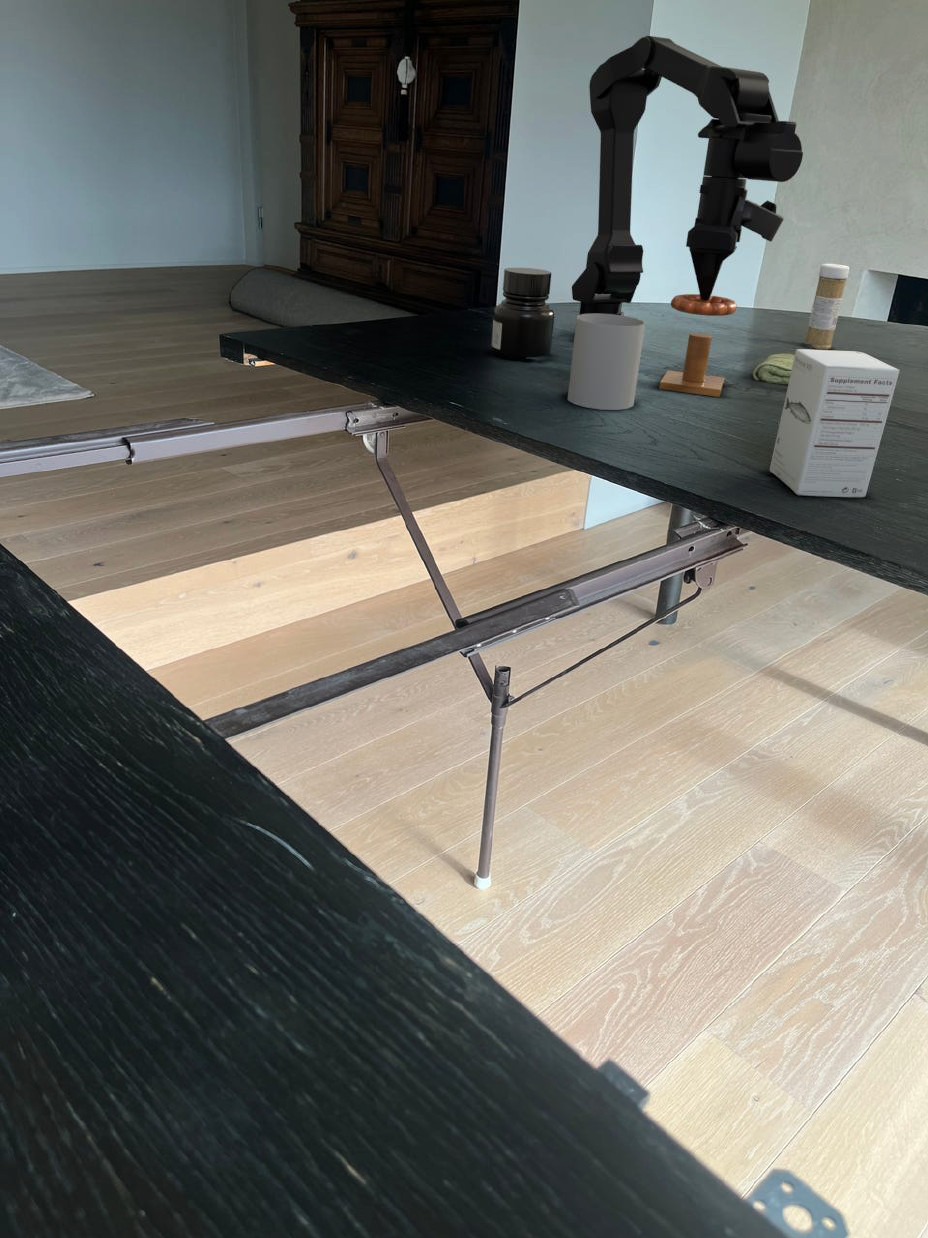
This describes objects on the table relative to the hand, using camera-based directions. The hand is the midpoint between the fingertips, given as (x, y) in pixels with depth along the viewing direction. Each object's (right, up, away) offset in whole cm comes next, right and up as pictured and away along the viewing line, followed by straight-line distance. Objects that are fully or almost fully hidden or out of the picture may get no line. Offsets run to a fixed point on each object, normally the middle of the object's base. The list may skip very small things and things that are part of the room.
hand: (705, 299), depth 135 cm
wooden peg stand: (-3, -13, -3) cm, 14 cm away
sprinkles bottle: (+27, +1, +29) cm, 40 cm away
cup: (-17, -18, -14) cm, 28 cm away
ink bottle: (-26, -6, +8) cm, 28 cm away
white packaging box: (+1, -32, -39) cm, 50 cm away
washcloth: (+17, -12, +2) cm, 21 cm away
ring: (-1, -2, -3) cm, 4 cm away
